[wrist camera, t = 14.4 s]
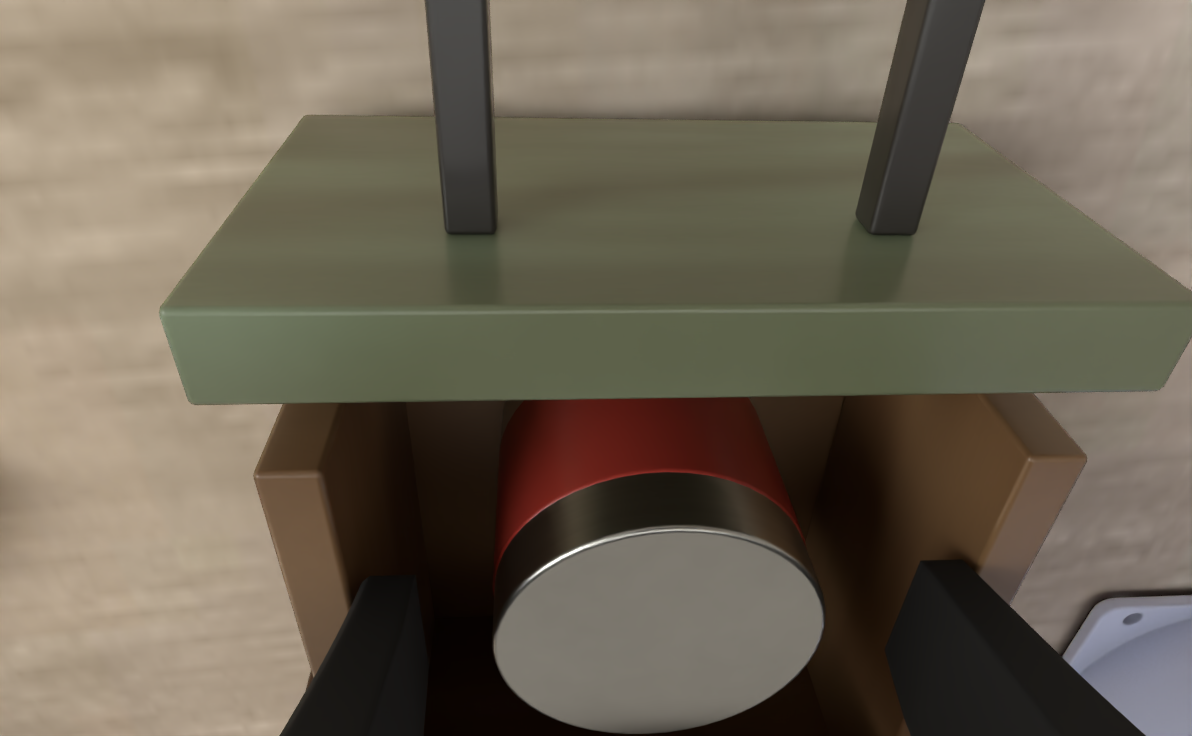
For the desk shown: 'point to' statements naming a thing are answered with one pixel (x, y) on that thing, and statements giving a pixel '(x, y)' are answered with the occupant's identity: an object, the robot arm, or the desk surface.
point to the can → (647, 563)
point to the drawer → (664, 344)
